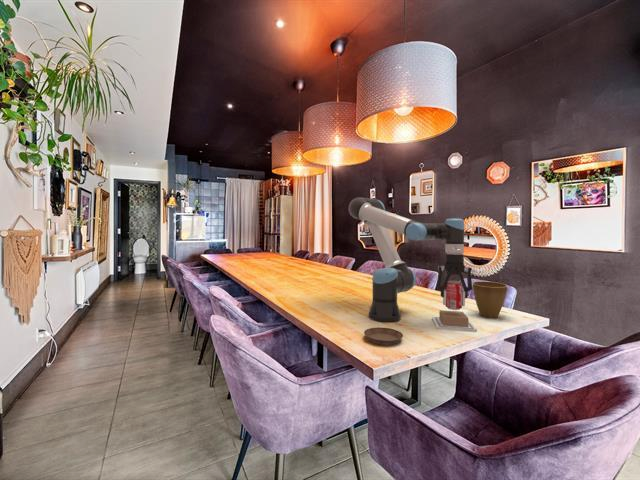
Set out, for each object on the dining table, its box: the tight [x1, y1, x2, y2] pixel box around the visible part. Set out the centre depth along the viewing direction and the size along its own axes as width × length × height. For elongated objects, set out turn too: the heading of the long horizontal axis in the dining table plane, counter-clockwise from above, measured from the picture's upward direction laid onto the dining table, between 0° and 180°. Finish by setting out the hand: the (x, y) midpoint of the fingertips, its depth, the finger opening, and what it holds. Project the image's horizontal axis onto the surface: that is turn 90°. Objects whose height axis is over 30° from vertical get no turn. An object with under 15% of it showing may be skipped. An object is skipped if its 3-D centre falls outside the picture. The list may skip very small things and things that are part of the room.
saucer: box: [363, 327, 404, 346], centre depth 114 cm, size 15×15×3 cm
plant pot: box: [472, 280, 508, 319], centre depth 145 cm, size 15×15×16 cm
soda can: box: [444, 280, 464, 311], centre depth 131 cm, size 7×7×12 cm
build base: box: [431, 309, 478, 333], centre depth 132 cm, size 16×14×5 cm
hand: (453, 304), depth 131 cm, fingers closed on soda can, 7 cm apart
